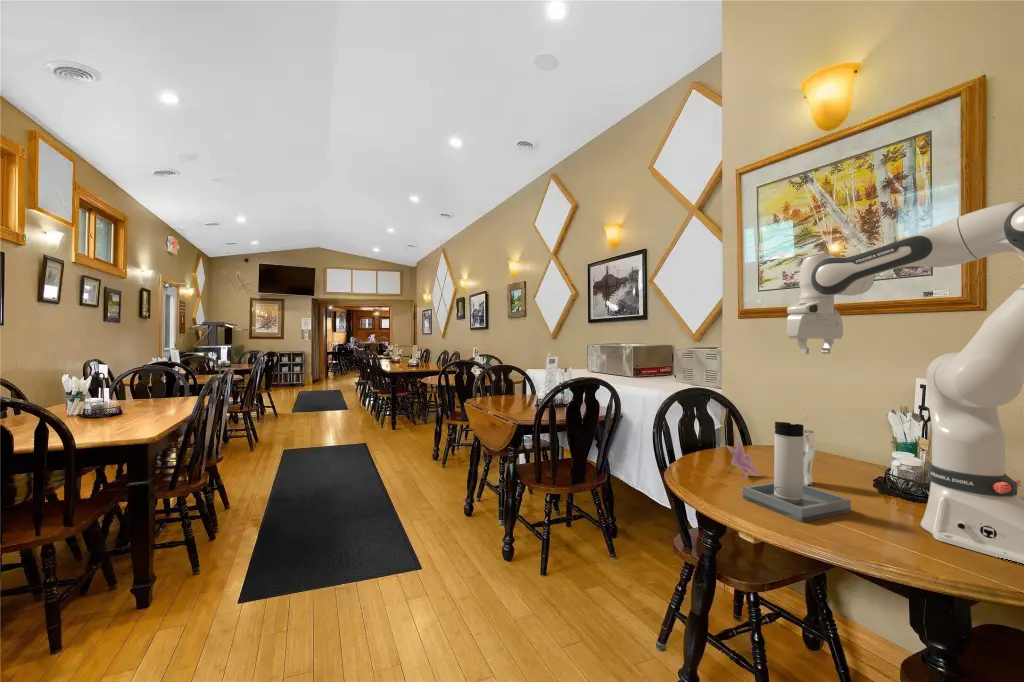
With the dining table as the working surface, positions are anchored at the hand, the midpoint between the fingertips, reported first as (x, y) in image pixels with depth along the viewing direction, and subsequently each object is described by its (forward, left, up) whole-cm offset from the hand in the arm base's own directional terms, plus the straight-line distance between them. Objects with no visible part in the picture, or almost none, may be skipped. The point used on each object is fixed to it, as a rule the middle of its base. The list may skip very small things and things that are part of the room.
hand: (815, 353), depth 138 cm
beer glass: (-3, +10, -37) cm, 39 cm away
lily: (+8, +21, -37) cm, 44 cm away
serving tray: (-15, +28, -37) cm, 49 cm away
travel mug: (-14, +29, -36) cm, 49 cm away
